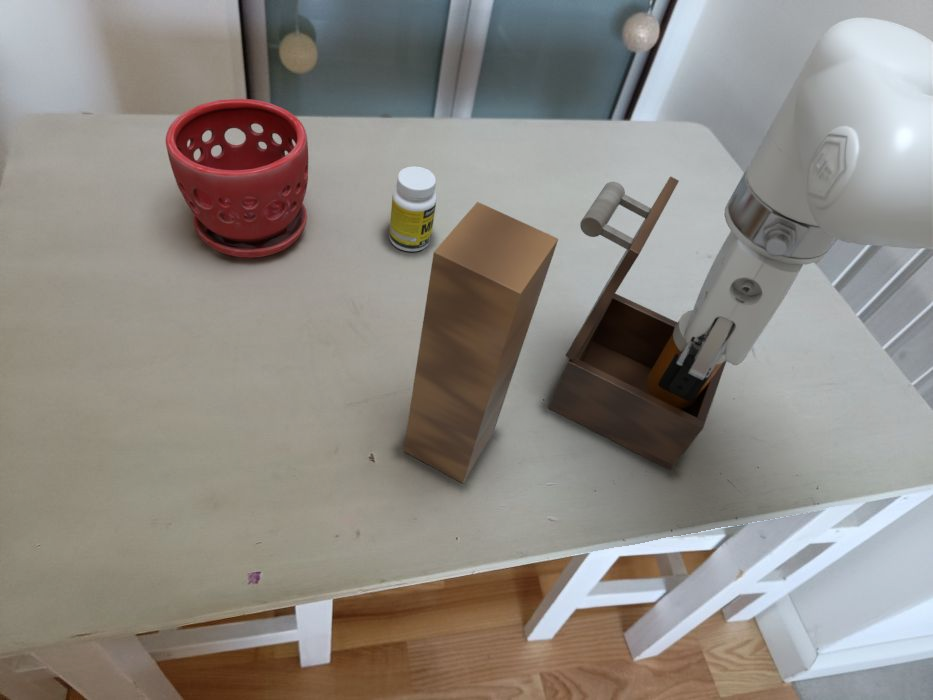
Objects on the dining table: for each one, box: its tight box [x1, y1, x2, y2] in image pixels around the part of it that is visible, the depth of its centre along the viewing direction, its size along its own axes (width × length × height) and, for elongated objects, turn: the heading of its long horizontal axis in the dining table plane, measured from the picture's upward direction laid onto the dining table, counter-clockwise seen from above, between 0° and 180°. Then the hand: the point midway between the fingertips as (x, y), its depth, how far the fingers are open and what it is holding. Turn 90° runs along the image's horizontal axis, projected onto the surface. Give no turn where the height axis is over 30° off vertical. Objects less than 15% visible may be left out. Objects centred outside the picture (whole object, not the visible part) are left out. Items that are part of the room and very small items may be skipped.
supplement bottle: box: [388, 166, 438, 252], centre depth 74 cm, size 5×5×8 cm
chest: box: [547, 292, 727, 471], centre depth 65 cm, size 13×11×7 cm
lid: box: [565, 176, 680, 360], centre depth 58 cm, size 14×11×5 cm
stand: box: [403, 201, 559, 484], centre depth 53 cm, size 6×6×24 cm
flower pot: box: [165, 98, 309, 259], centre depth 70 cm, size 13×13×12 cm
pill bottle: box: [647, 309, 726, 408], centre depth 61 cm, size 5×5×8 cm
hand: (684, 369), depth 61 cm, fingers closed on pill bottle, 4 cm apart
